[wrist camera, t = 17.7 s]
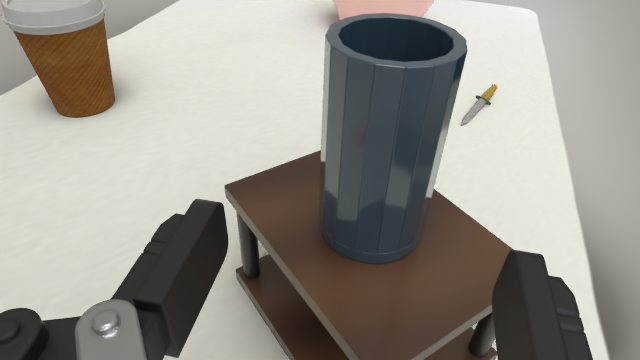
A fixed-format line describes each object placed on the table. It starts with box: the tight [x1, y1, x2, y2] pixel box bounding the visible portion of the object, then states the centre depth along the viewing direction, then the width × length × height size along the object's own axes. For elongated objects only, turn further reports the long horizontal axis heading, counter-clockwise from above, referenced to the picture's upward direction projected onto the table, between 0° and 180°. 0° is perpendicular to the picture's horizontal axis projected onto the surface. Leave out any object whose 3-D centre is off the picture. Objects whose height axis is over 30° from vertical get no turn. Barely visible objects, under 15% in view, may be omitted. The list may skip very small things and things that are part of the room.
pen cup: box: [319, 13, 467, 264], centre depth 22 cm, size 6×6×11 cm
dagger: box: [461, 84, 497, 125], centre depth 55 cm, size 11×1×2 cm
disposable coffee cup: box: [2, 0, 115, 117], centre depth 49 cm, size 10×10×12 cm
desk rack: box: [225, 150, 513, 360], centre depth 29 cm, size 15×11×9 cm
